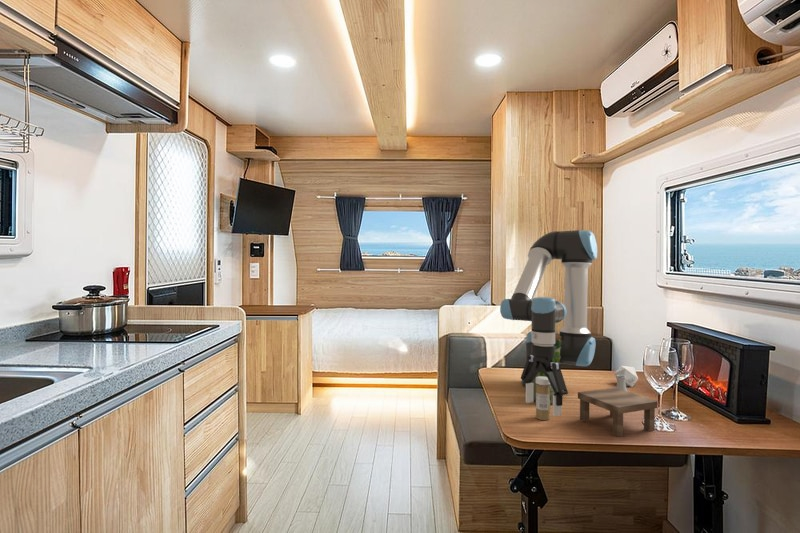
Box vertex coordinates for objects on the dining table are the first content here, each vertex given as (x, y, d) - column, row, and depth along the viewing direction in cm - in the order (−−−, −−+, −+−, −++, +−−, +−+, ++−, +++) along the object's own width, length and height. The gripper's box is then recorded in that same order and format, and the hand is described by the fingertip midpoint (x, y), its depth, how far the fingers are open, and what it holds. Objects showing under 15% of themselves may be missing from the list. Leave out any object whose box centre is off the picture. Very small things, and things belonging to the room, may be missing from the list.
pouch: (561, 398, 165) (561, 332, 165) (562, 408, 153) (563, 337, 153) (530, 395, 168) (531, 331, 168) (530, 404, 157) (530, 335, 157)
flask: (635, 406, 155) (635, 379, 155) (613, 405, 157) (613, 377, 157) (628, 400, 162) (628, 374, 162) (607, 399, 164) (608, 373, 164)
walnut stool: (577, 419, 142) (577, 392, 142) (614, 413, 148) (614, 387, 148) (618, 437, 127) (618, 407, 127) (657, 430, 133) (657, 401, 133)
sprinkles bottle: (551, 417, 144) (551, 377, 144) (547, 421, 140) (548, 380, 140) (537, 414, 146) (537, 375, 146) (533, 418, 142) (533, 378, 142)
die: (626, 390, 178) (641, 372, 177) (607, 376, 184) (622, 358, 183) (630, 393, 184) (644, 375, 183) (612, 379, 190) (626, 362, 189)
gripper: (511, 338, 153) (510, 398, 153) (560, 352, 130) (560, 422, 130) (528, 337, 156) (528, 396, 156) (580, 350, 133) (579, 419, 133)
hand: (542, 408), depth 143 cm, fingers open, 13 cm apart
